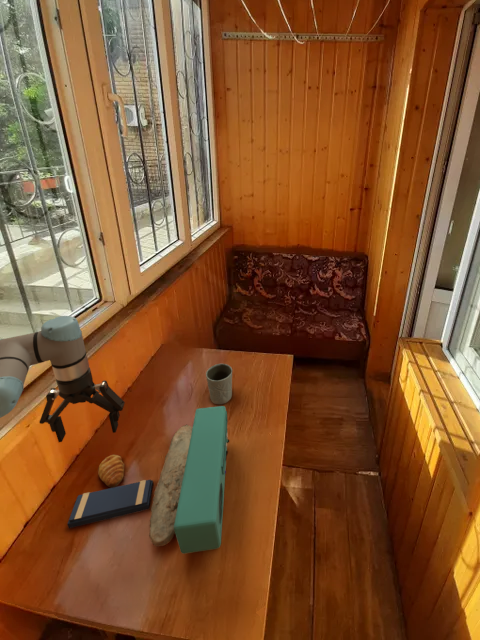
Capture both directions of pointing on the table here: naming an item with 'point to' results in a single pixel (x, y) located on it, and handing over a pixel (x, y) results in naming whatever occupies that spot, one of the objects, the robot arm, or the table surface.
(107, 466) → the pastry
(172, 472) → the long grey stone
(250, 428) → the table surface
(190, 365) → the table surface
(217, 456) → the teal bluetooth speaker
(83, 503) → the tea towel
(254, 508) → the table surface
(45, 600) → the table surface
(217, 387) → the grey stone cup
